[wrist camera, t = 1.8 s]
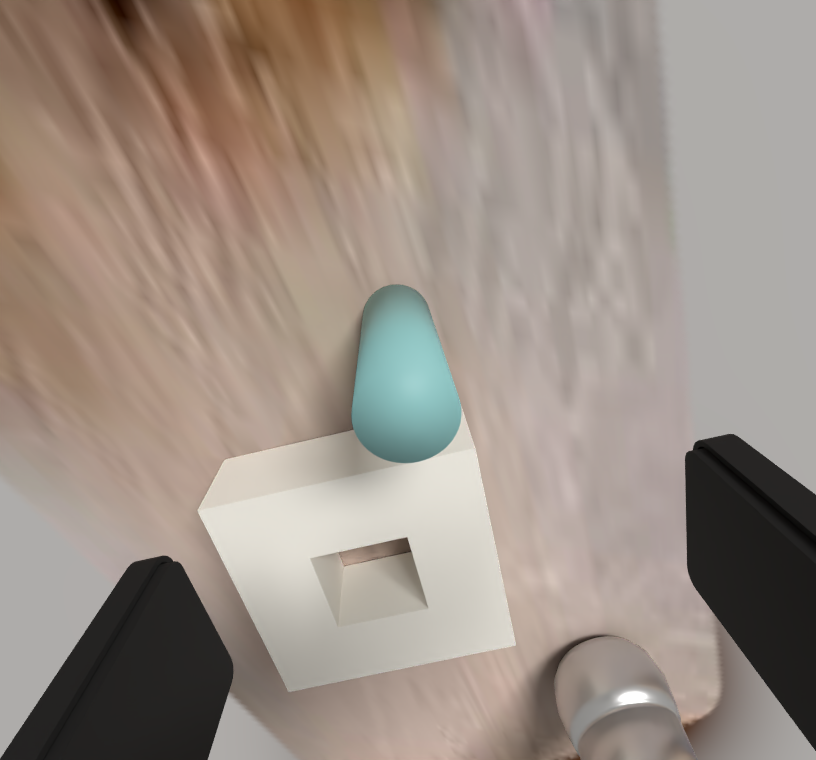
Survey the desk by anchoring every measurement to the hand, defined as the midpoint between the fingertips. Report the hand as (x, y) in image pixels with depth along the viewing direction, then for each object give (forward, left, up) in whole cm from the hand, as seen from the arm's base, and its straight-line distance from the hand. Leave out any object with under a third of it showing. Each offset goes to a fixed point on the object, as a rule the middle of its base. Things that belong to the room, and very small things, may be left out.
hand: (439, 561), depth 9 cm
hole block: (+10, -4, -15) cm, 18 cm away
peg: (-1, 0, -15) cm, 15 cm away
